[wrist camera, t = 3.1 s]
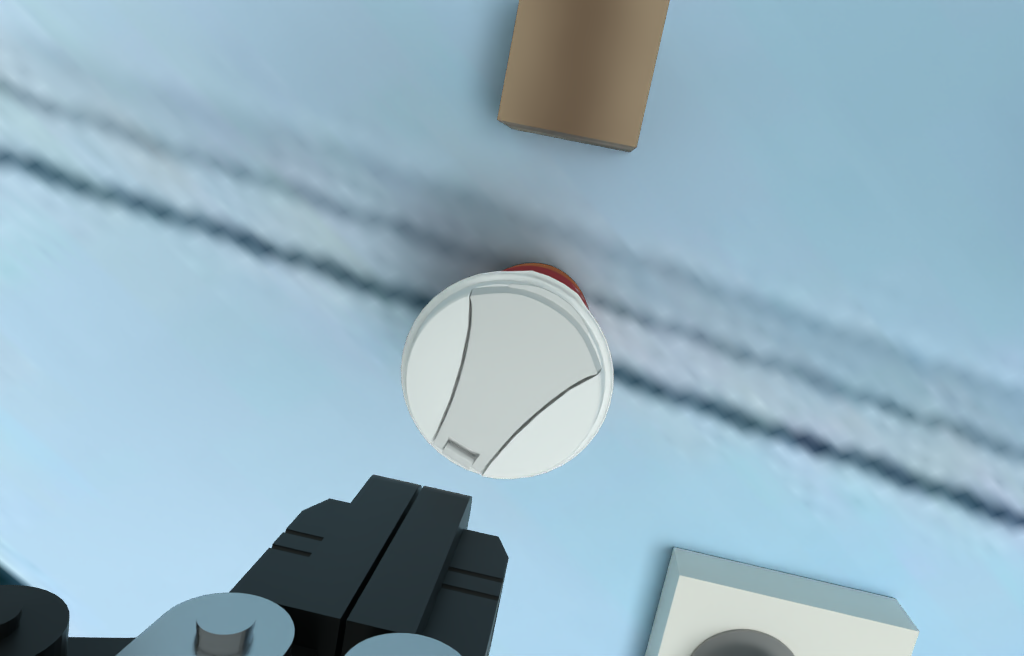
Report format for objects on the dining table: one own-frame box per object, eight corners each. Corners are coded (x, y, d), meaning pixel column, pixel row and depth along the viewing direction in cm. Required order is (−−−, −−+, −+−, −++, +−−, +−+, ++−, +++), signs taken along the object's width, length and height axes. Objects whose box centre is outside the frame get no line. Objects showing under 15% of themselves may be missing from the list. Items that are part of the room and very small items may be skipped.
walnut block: (658, 26, 36) (670, -4, 30) (630, 152, 37) (636, 147, 32) (536, 3, 36) (524, -30, 31) (512, 128, 38) (497, 119, 32)
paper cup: (557, 412, 40) (538, 532, 27) (435, 337, 40) (353, 418, 27) (638, 289, 38) (661, 350, 25) (510, 211, 38) (463, 228, 25)
